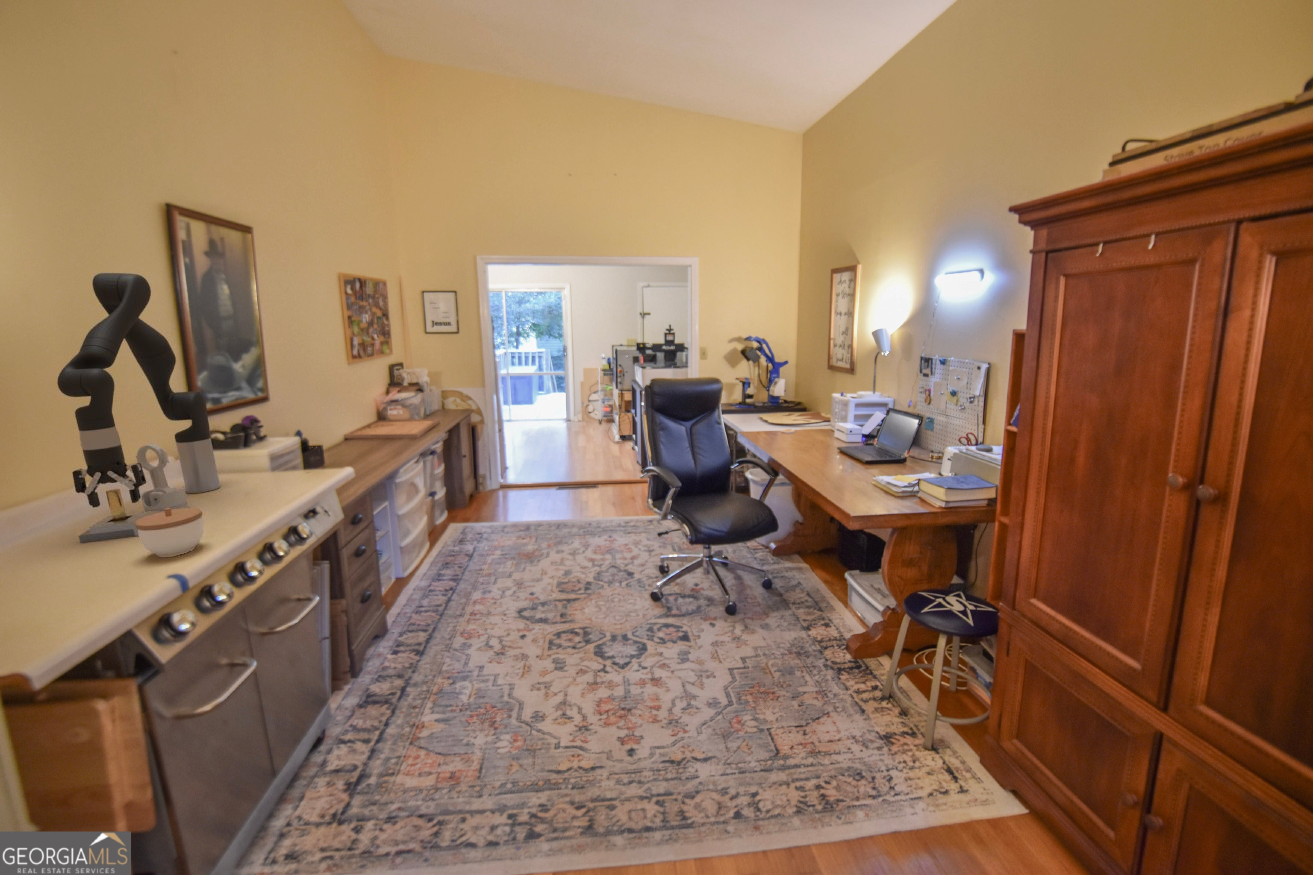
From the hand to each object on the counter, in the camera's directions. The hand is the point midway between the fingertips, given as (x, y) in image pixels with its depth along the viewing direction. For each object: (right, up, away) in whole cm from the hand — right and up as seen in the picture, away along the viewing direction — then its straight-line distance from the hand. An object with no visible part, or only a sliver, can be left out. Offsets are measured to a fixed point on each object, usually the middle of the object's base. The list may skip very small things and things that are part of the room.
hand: (116, 504), depth 158 cm
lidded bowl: (+27, -10, -14) cm, 32 cm away
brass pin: (0, -8, +1) cm, 8 cm away
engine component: (-3, -4, +20) cm, 21 cm away
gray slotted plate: (+3, -8, +2) cm, 9 cm away
